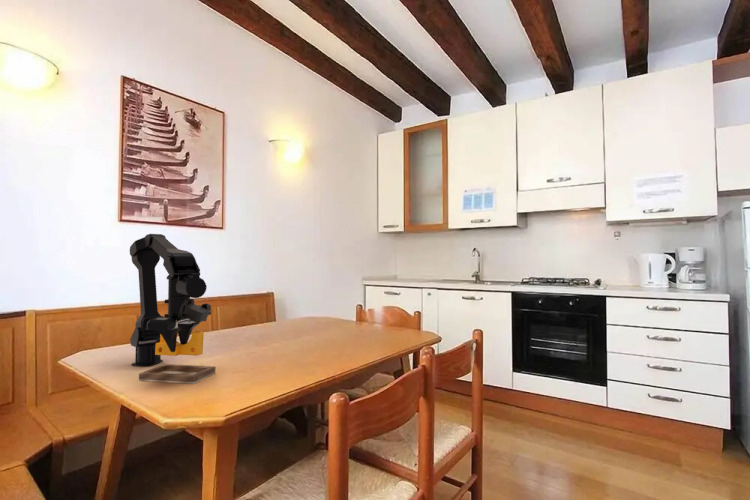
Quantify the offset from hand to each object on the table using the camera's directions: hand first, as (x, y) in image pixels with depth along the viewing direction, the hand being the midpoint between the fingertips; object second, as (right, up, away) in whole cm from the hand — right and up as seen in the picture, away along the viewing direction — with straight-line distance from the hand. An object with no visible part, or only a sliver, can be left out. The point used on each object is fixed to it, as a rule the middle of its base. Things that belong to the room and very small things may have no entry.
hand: (178, 349), depth 112 cm
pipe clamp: (0, -1, 0) cm, 1 cm away
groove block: (0, -8, 0) cm, 8 cm away
